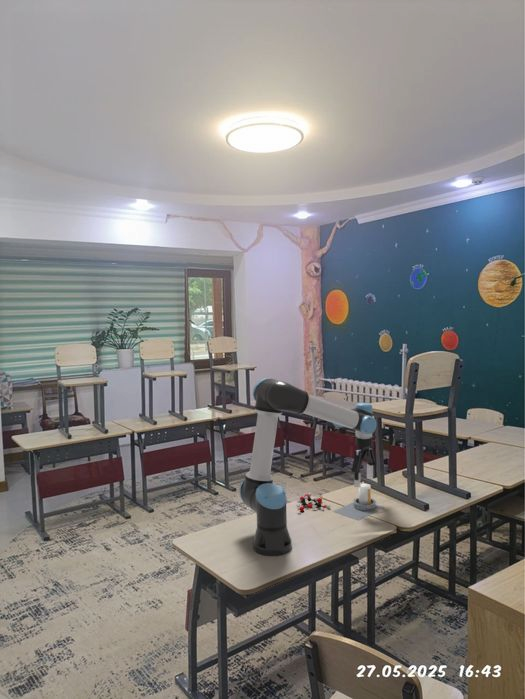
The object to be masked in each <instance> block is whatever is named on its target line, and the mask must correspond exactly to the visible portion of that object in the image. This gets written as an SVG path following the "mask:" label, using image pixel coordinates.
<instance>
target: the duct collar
mask: <svg viewBox="0 0 525 699" xmlns="http://www.w3.org/2000/svg"><path fill="white" fill-rule="evenodd" d="M352 501H353V502H352V503H353V507H354V508H355V509H358V510H361V511H371V510H374V509H376V505H377V500H375V499H374V498H371V504H369V505H363V504H359V497H356V498H354V500H352Z"/></svg>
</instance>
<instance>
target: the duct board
mask: <svg viewBox="0 0 525 699" xmlns="http://www.w3.org/2000/svg"><path fill="white" fill-rule="evenodd" d="M384 508H385V507H384V506H381V505H379V504H376V509H374V510H371V511H361V510H358V509H355V508H354V507H353V502H351V503H348V504H346V505H344V506H342V507H339V508H338V509H335V510H334V511H332V512H333V513H336V514H339V515H341V516H344V517H346V518H347V517H348V518H350V519H353V520H356V521H361V520H363V519H364V518H366V517H369V516H371V515H372V514H374V513H376V512H379V511H381V510H383V509H384Z"/></svg>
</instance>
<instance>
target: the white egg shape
mask: <svg viewBox="0 0 525 699" xmlns="http://www.w3.org/2000/svg"><path fill="white" fill-rule="evenodd" d="M371 486H372V485H371V484H369V483H360V488H359V487H357V488H358V498H359V504H363V505H369V504H371V499H372V498H371V497H372V495H371V494H372V491H371V490H372V489H371V488H372V487H371Z"/></svg>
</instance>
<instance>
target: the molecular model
mask: <svg viewBox="0 0 525 699" xmlns="http://www.w3.org/2000/svg"><path fill="white" fill-rule="evenodd" d="M311 496H312V493H311V492H308V493H307V494H304V496H300V497H299V499H297V500H296V503H297V504H296V508H298V509H299V511H300V512H301V513H303V512H305V507H306V506H308V508H309V509H316V508H319V509H320V511H321V512H324V511H325V509H326V508H327V509H330V508H331V504H324V505H323V504H322V502H323V499H322V498H321V497H320V496H318V497H317V496H315V497H314V498H313V499H312V498H311ZM311 501H312V502H314V504H312V503H310V504H308V503H307V502H311ZM300 503H302V506H301V505H300Z"/></svg>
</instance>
